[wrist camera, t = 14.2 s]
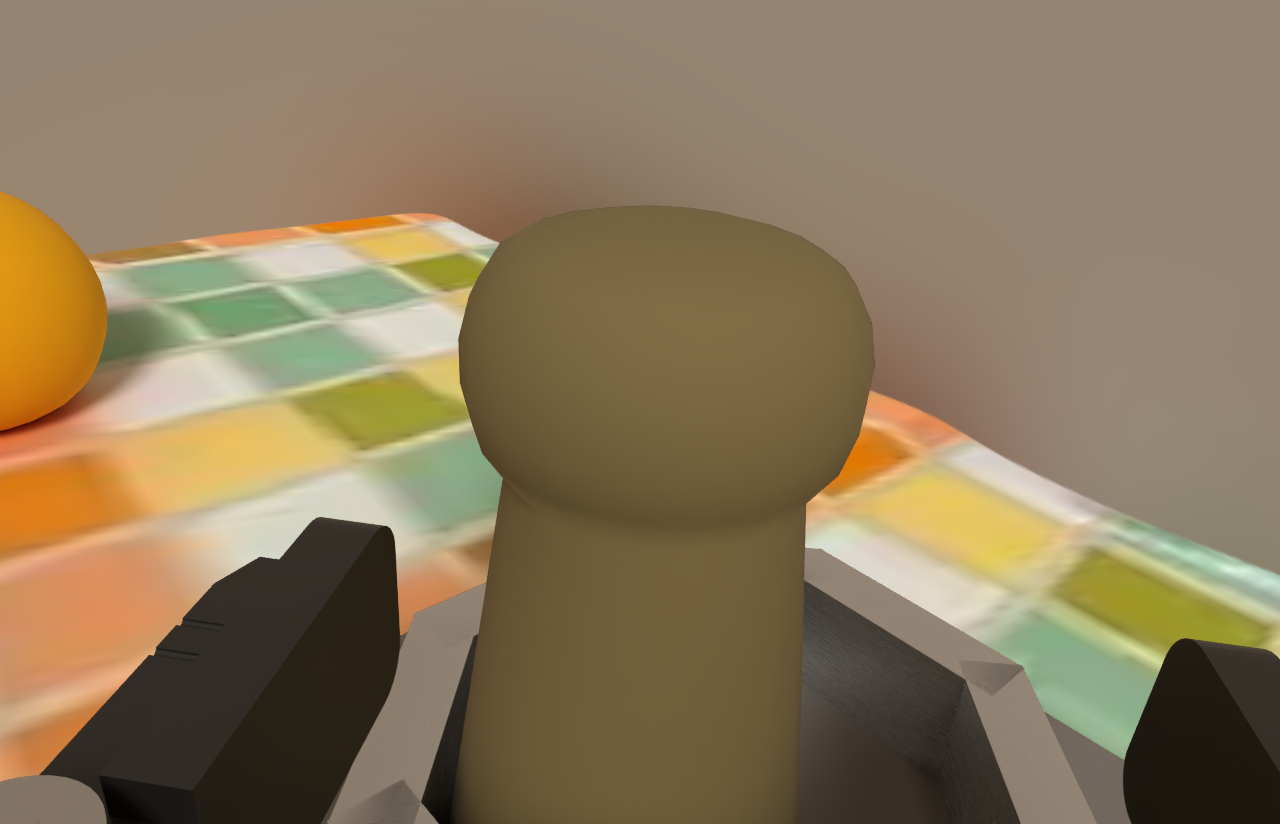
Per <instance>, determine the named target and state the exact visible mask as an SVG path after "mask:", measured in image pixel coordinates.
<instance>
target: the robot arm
mask: <svg viewBox="0 0 1280 824" xmlns="http://www.w3.org/2000/svg"><path fill="white" fill-rule="evenodd" d="M399 652H400V628H399V609H398V590H397V570H396V551H395V540H394V535H393V533H392V531H391V529H390V528H389V527H388V526H382V525H375V524H367V523H360V522H353V521H345V520H338V519H331V518H324V517H319V518H316V519H314V520H313V521H312V522H311V523H310V524H309V525H308V526H307V527H306V528H305V530H304V531H303V532H302V533H301V534H300V536H299V537H298V538H297V539H296V540H295V541H294V543H293V544H292V545H291V546H290V547H289V549H288V550H287V551H286V552H285V553H284V555H283V556H282V557H281V558H280V559H272V558H265V557H259V558H257V559H255V560H254V561H252V562H250V563H249V564H247V565H245V566H243V567H242V568H240V569H238V570H237V571H235V572H233V573H231V574H230V575H228V576H226V577H225V578H223V579H221V580H219V581H218V582H216V583H214V584H213V585H212V587H211V588H210V589H209V590H208V591H207V592H206V593H205V594H204V595H203V596H202V598H201V599H200V600H199V601H198V602H197V603H196V604H195V605H194V606H193V607H192V608H191V610H190V611H189V612H188V613H187V614H186V615H185V616H184V617H183V621H182V624H181V626H179V625H176V626H175V627H174V628H173V629H172V630H171V631H170V633H169V634H168V635H167V636H166V637H165V638H164V639H163V640H162V641H161V642H160V644H159V645H158V646H157V647H156V652H155V654H154V656H152V655H149V656H148V657H147V658H146V659H145V660H144V661H143V662H142V663H141V664H140V665H139V667H138V668H137V669H136V670H135V671H134V672H133V673H132V674H131V675H130V676H129V678H128V679H127V680H126V681H125V682H124V683H123V684H122V685H121V686H120V687H119V689H118V690H117V691H116V692H115V693H114V694H113V695H112V696H111V697H110V698H109V699H108V701H107V702H106V703H105V704H104V705H103V706H102V707H101V708H100V709H99V710H98V712H97V713H96V714H95V715H94V716H93V717H92V718H91V719H90V720H89V721H88V722H87V724H86V725H85V726H84V727H83V728H82V729H81V730H80V731H79V732H78V733H77V735H76V736H75V737H74V738H73V739H72V740H71V741H70V742H69V743H68V744H67V746H66V747H65V748H64V749H63V750H62V751H61V752H60V753H59V754H58V755H57V756H56V758H55V759H54V760H53V761H52V762H51V763H50V764H49V765H48V766H47V767H46V769H45V770H44V771H43V772H42V773H41V774H40V775H34V776H26V777H19V778H14V779H9V780H5V781H1V782H0V824H321V823H322V821H323V819H324V817H325V815H326V813H327V811H328V810H329V808H330V806H331V804H332V802H333V800H334V798H335V796H336V795H337V793H338V791H339V789H340V787H341V785H342V783H343V781H344V779H345V778H346V776H347V774H348V772H349V770H350V768H351V766H352V764H353V763H354V761H355V759H356V757H357V755H358V753H359V751H360V749H361V747H362V746H363V744H364V742H365V740H366V738H367V736H368V734H369V732H370V731H371V729H372V727H373V725H374V723H375V721H376V719H377V717H378V715H379V714H380V712H381V710H382V708H383V706H384V704H385V702H386V700H387V698H388V696H389V693H390V691H391V688H392V685H393V682H394V678H395V675H396V670H397V666H398V660H399ZM1123 792H1124V800H1125V805H1126V809H1127V813H1128V816H1129V819H1130V821H1131V824H1280V659H1279V658H1278V657H1277V656H1276V655H1275V654H1274V653H1272V652H1271V651H1268V650H1266V649H1259V648H1252V647H1245V646H1238V645H1230V644H1223V643H1216V642H1209V641H1201V640H1194V639H1187V638H1185V639H1180V640H1179V641H1177V642H1176V643H1174V644H1173V645H1172V647H1171V648H1170V650H1169V651H1168V653H1167V655H1166V657H1165V659H1164V662H1163V664H1162V667H1161V669H1160V672H1159V674H1158V677H1157V679H1156V681H1155V684H1154V686H1153V689H1152V691H1151V694H1150V696H1149V698H1148V701H1147V703H1146V706H1145V708H1144V711H1143V713H1142V715H1141V718H1140V720H1139V723H1138V725H1137V728H1136V730H1135V732H1134V735H1133V737H1132V740H1131V742H1130V745H1129V747H1128V750H1127V753H1126V757H1125V761H1124V768H1123Z"/></svg>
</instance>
